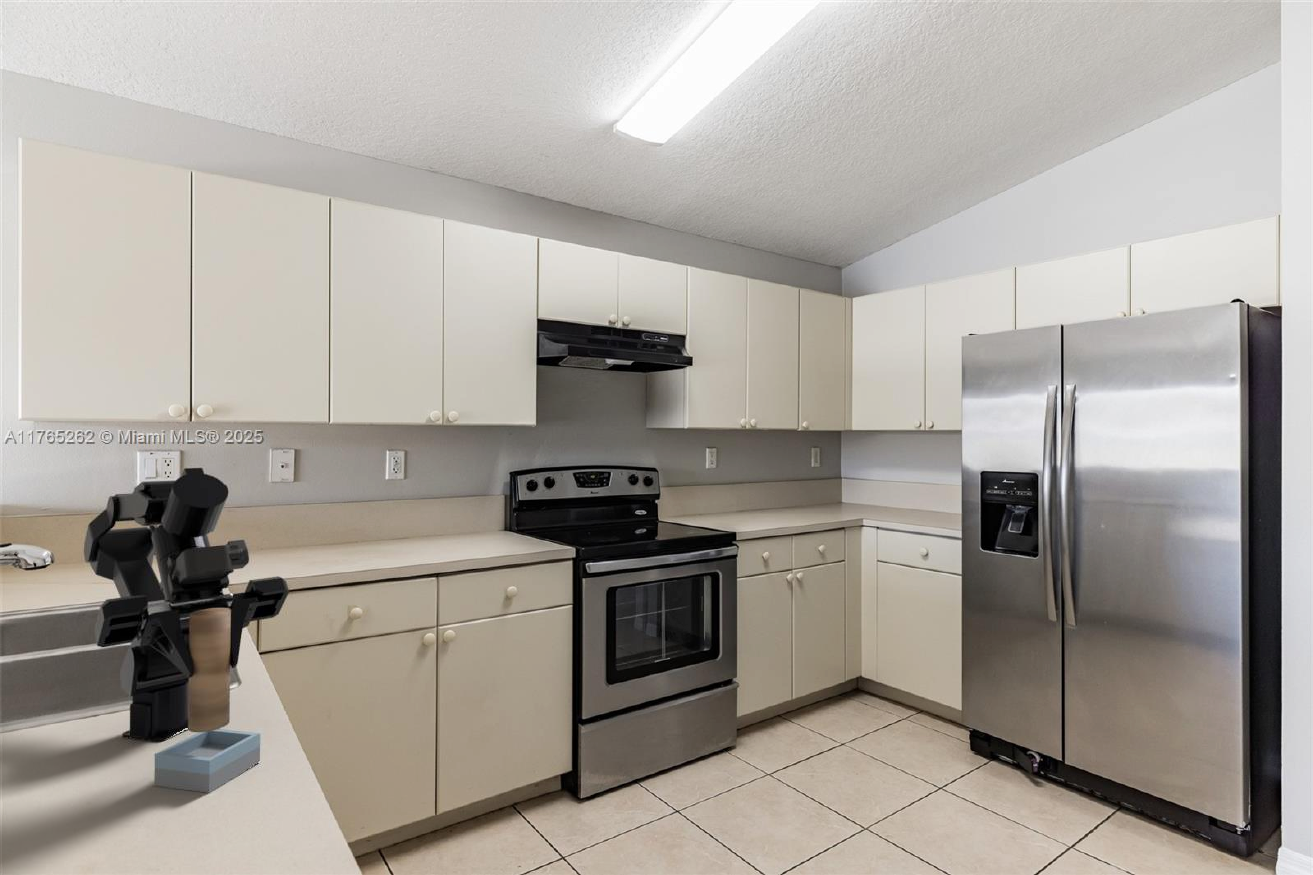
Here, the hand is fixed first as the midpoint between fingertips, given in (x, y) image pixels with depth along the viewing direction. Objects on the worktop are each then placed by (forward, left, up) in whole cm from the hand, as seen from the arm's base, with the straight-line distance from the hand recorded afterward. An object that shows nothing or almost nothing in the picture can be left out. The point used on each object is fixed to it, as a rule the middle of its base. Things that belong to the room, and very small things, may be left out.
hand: (213, 670), depth 79 cm
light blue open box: (-1, -1, -12) cm, 12 cm away
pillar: (-1, -1, -7) cm, 7 cm away
